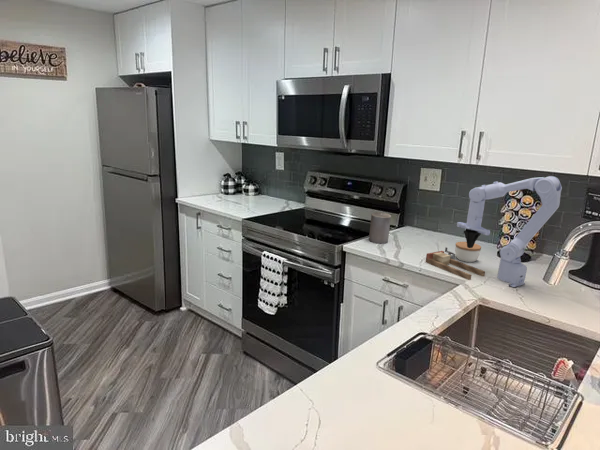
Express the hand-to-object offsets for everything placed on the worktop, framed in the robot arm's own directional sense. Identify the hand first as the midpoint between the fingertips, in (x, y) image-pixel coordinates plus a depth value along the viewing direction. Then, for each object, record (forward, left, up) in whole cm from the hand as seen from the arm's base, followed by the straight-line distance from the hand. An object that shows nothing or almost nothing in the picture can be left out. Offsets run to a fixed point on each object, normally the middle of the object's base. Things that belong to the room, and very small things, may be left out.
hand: (469, 247), depth 181 cm
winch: (+10, -1, -10) cm, 14 cm away
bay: (+1, +7, -10) cm, 12 cm away
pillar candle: (+47, +7, -10) cm, 49 cm away
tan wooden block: (+8, +7, -9) cm, 14 cm away
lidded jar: (+7, -9, -10) cm, 15 cm away
